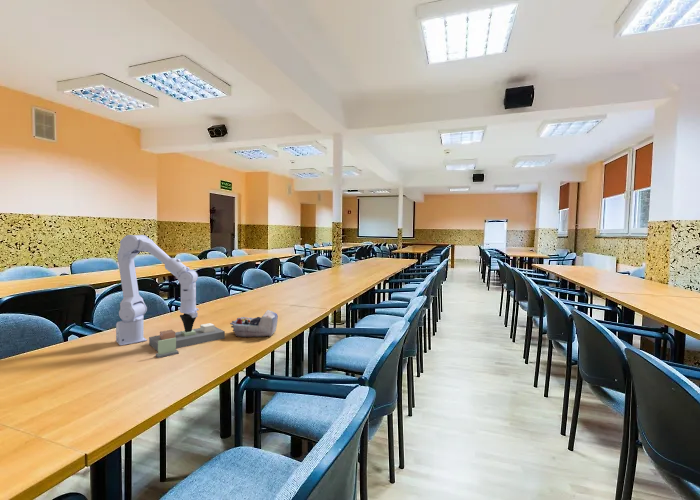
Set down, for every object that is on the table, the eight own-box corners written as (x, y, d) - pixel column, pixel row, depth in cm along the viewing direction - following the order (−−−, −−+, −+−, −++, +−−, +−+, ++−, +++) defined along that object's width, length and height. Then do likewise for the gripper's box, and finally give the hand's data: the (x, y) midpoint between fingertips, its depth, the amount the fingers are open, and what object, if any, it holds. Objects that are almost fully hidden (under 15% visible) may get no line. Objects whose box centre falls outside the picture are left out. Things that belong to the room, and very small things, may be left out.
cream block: (204, 336, 145) (204, 326, 144) (200, 333, 148) (200, 324, 148) (214, 334, 148) (214, 325, 148) (210, 331, 151) (210, 323, 151)
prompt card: (158, 358, 123) (157, 342, 122) (155, 355, 125) (155, 340, 125) (178, 353, 128) (178, 338, 127) (175, 351, 130) (175, 336, 130)
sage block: (184, 343, 139) (184, 333, 139) (180, 340, 142) (180, 331, 142) (195, 340, 142) (195, 331, 142) (191, 338, 145) (191, 329, 145)
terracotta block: (163, 344, 133) (163, 334, 133) (159, 341, 136) (159, 331, 136) (175, 341, 136) (175, 332, 136) (171, 339, 140) (171, 329, 139)
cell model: (274, 314, 147) (227, 315, 146) (274, 338, 148) (228, 339, 147) (279, 307, 160) (236, 308, 159) (279, 330, 161) (236, 330, 160)
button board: (158, 352, 129) (158, 344, 129) (149, 344, 137) (149, 337, 137) (224, 338, 147) (224, 331, 147) (213, 332, 156) (213, 325, 155)
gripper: (205, 300, 139) (205, 333, 140) (191, 295, 149) (191, 326, 150) (187, 303, 134) (187, 336, 135) (174, 297, 144) (174, 329, 145)
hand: (188, 331), depth 142 cm, fingers closed, pressing on sage block
